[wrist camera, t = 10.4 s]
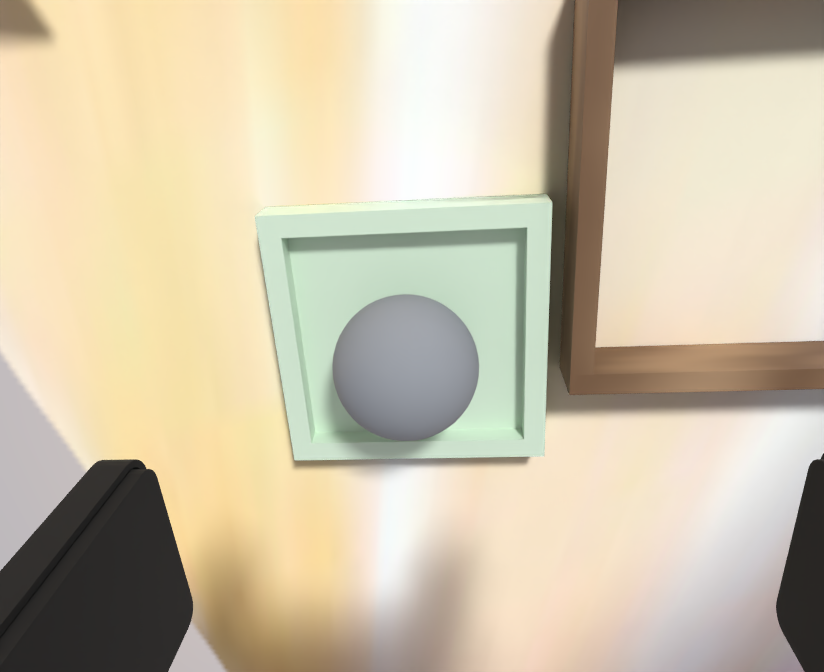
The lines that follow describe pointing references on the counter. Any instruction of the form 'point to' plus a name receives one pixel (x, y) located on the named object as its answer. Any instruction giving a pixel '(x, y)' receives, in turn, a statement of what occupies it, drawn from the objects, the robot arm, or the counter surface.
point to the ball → (405, 367)
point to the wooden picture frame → (583, 260)
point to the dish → (425, 276)
